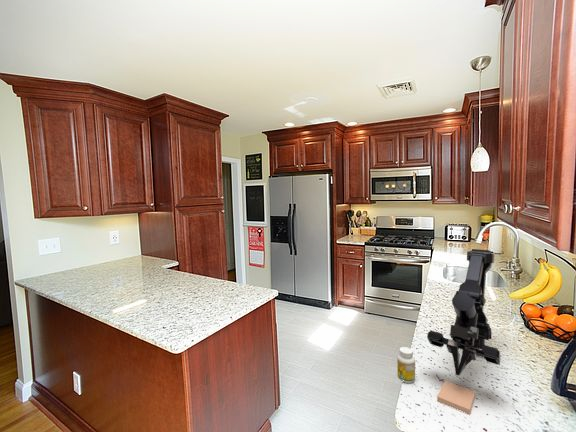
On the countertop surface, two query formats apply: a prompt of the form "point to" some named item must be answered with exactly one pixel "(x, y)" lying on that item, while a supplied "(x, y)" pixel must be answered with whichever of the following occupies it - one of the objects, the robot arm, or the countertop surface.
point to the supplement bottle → (406, 365)
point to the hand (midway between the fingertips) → (457, 374)
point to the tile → (456, 397)
